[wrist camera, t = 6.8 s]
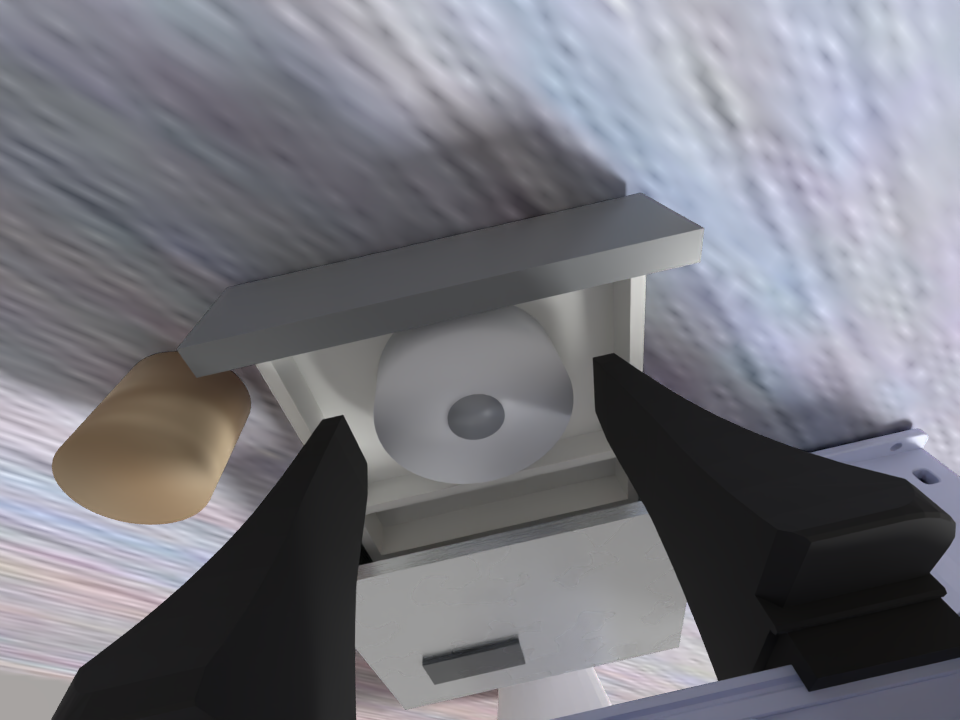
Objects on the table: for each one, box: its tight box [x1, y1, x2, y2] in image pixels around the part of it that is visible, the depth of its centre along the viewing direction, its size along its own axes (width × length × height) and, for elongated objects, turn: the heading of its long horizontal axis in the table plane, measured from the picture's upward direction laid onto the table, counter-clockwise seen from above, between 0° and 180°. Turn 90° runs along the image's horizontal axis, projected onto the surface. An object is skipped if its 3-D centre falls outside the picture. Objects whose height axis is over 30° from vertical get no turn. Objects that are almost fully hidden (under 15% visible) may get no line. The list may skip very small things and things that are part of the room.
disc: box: [374, 305, 574, 484], centre depth 13 cm, size 6×6×2 cm
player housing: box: [355, 496, 687, 710], centre depth 19 cm, size 13×11×4 cm
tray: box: [176, 193, 704, 562], centre depth 14 cm, size 12×11×3 cm
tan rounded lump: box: [52, 352, 251, 525], centre depth 13 cm, size 4×4×4 cm
